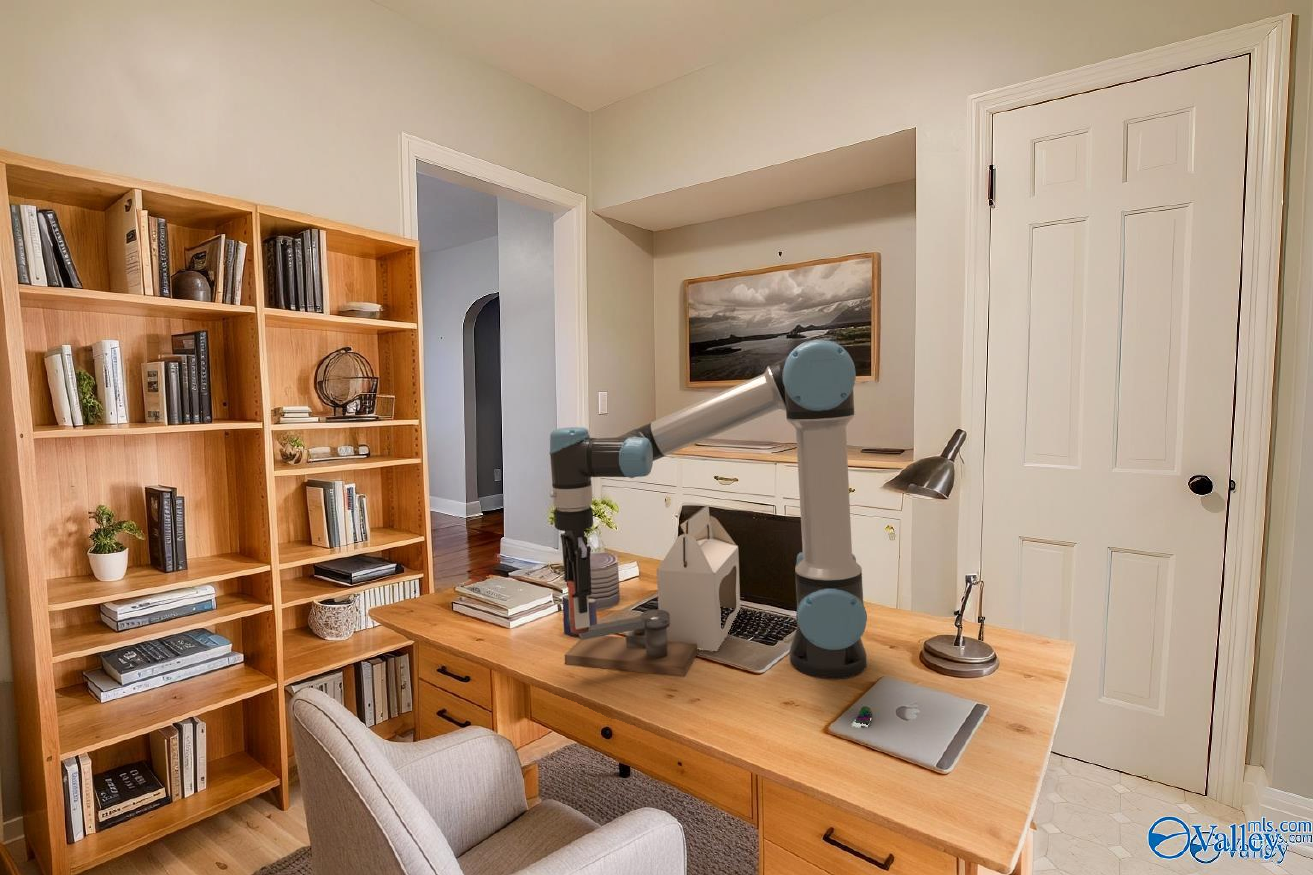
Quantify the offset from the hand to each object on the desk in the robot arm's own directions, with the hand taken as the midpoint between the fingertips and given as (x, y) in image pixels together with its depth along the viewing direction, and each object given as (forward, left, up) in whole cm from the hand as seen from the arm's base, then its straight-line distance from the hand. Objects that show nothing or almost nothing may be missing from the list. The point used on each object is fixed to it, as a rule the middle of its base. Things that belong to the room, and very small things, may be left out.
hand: (579, 623), depth 130 cm
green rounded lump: (-54, +4, -12) cm, 55 cm away
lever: (-7, -5, -3) cm, 9 cm away
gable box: (-17, -29, -12) cm, 36 cm away
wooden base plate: (-6, -11, -12) cm, 17 cm away
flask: (+10, -20, -12) cm, 25 cm away
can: (+14, -41, -12) cm, 45 cm away
